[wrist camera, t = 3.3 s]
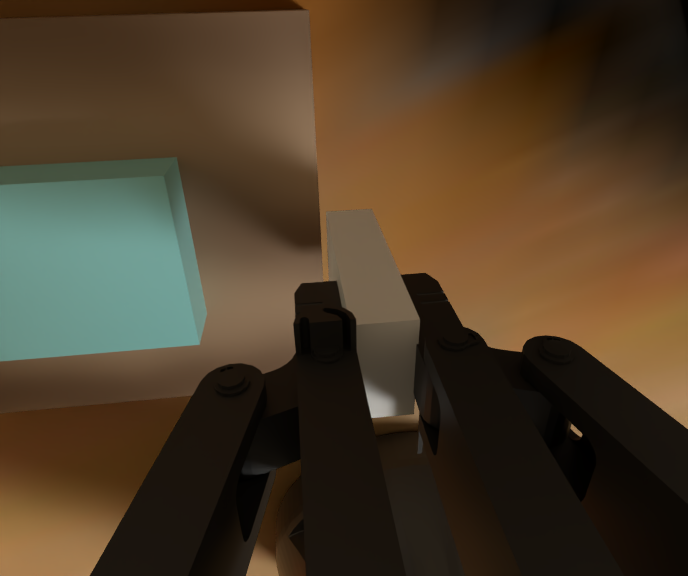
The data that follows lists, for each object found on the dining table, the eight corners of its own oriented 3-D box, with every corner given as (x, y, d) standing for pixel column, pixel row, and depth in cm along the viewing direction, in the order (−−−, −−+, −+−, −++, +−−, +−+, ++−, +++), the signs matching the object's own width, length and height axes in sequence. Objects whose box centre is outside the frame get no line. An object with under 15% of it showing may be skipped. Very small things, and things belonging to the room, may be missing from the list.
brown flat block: (323, 342, 24) (328, 383, 21) (-73, 375, 22) (-120, 424, 20) (304, 9, 17) (308, 10, 14) (-275, 26, 15) (-387, 31, 13)
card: (207, 313, 19) (199, 344, 17) (-71, 335, 18) (-108, 370, 16) (176, 157, 16) (163, 176, 14) (-159, 174, 15) (-215, 196, 13)
